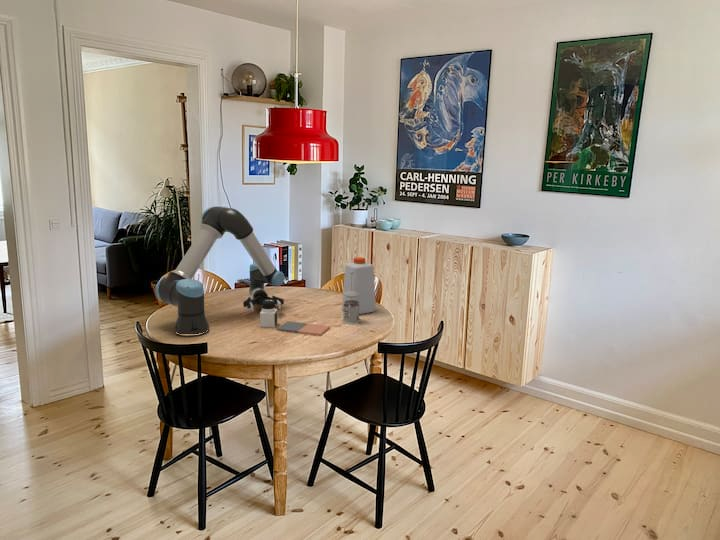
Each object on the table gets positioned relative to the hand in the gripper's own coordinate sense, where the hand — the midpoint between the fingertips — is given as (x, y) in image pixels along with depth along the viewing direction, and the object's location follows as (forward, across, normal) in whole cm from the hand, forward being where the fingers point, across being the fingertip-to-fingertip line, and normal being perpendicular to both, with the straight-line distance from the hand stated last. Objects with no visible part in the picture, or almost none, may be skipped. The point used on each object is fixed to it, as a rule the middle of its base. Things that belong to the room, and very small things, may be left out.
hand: (266, 307), depth 267 cm
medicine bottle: (+9, 0, -7) cm, 11 cm away
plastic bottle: (-3, -49, -7) cm, 49 cm away
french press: (+13, -40, -7) cm, 42 cm away
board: (+20, -14, -6) cm, 25 cm away
